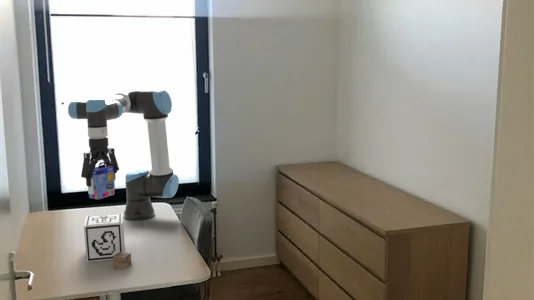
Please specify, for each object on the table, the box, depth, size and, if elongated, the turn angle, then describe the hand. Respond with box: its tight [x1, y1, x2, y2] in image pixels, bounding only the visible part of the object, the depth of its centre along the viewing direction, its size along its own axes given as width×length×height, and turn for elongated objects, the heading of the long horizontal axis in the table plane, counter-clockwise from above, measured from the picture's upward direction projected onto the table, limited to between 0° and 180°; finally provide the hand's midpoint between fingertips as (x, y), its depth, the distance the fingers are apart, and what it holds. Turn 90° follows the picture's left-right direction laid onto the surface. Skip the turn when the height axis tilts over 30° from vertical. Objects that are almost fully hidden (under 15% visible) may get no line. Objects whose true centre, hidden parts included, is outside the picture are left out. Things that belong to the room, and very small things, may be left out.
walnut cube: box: [112, 251, 132, 270], centre depth 229 cm, size 5×5×5 cm
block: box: [83, 212, 126, 263], centre depth 243 cm, size 15×15×15 cm
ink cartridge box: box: [88, 161, 115, 201], centre depth 239 cm, size 10×6×14 cm, turn 152°
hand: (101, 191), depth 239 cm, fingers closed on ink cartridge box, 10 cm apart
